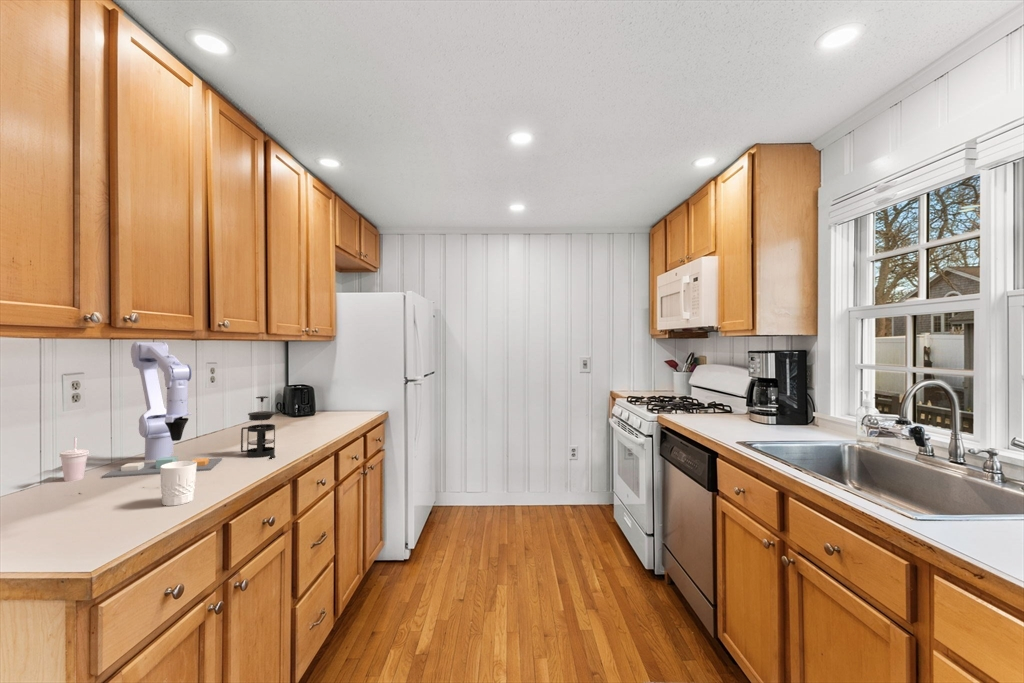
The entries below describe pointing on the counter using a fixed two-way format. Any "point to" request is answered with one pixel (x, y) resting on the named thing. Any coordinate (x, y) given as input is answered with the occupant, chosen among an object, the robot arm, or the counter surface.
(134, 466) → the white button
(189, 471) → the white cup
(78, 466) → the smoothie
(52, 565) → the counter surface
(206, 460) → the orange button
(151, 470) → the button panel
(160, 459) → the teal button
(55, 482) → the counter surface
